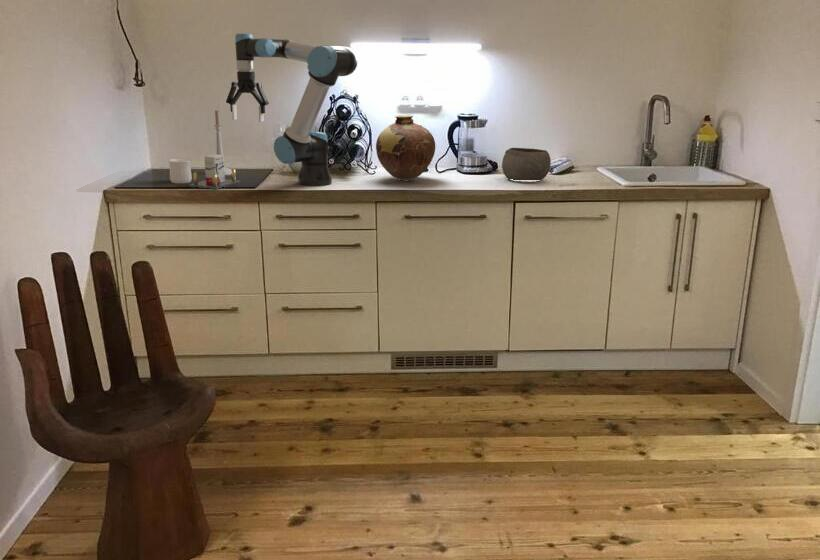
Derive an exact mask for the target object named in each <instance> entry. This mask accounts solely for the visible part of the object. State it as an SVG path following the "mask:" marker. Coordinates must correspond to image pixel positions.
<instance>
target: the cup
mask: <svg viewBox="0 0 820 560" xmlns="http://www.w3.org/2000/svg"><path fill="white" fill-rule="evenodd" d="M168 162H169V180H170V182H171V183H172V184H188V183H189V184H190V183H191V182H192V179H193V177H192V176H193V175H192V170H191V159H187V158H178V157H177V158H171V159H168Z"/></svg>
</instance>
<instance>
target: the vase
mask: <svg viewBox="0 0 820 560" xmlns="http://www.w3.org/2000/svg"><path fill="white" fill-rule="evenodd" d="M413 117H414V115H411V114H398V115H394V118H395V121H394V123H392V124H389V125H388V126H386V127H385V128H384V129H383V130H382V131H380V133H379V135H378V136H377V139H376V142H375V143H376V144H375V151H376V157H377V159H378V162H379V163H380V164H381V166H382V167H383V169H384V170H385V171H386V172H387V173H388V174H389V175H390V176H391V177H394V178H395V179H397V180H399V179H400V180H399V181H402V180H410V181H412V179H413V180H416V179H417V178H418V177H420V176H421V175H422V174H423V173H424V172H425V171H426V169H427V168H428V167H429V166H430V164H431V162H432V161H433V158H434V156H435V153H436V140H435V138H434V136H433V134H432V132H430V130H429V129H427V128H425V127H424V126H422V125H421V124H418V123H415V122H414V119H413Z"/></svg>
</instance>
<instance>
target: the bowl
mask: <svg viewBox="0 0 820 560" xmlns="http://www.w3.org/2000/svg"><path fill="white" fill-rule="evenodd" d="M551 162H552V160H551V155H550V153H549V152H548V151H547V150H545V149H544V150H543V149H539V148H530V147H529V148H525V147H510V148H508V149H507V150H505V152H504V155H503V157H502V162H501V168H502V172H503V174H504V177H505V178H506V179H507V178H508V179H513V180H541V179H543V180H544V179H545V178H546V177H547V176H548V174H549V172H550V170H551V166H552V165H551V164H552V163H551ZM508 179H507V180H508ZM541 181H542V180H541Z"/></svg>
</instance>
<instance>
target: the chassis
mask: <svg viewBox="0 0 820 560" xmlns="http://www.w3.org/2000/svg"><path fill="white" fill-rule="evenodd" d="M231 170H232V175H231V179H227V178H225V181H224V182H221V183H218V184H217V177H216V174H212V175H213V184H206V179H205V180H201V181H198V172H193V174H192V176H193V177H192V178H193V183H189V186H188V187H189V188H196V187H198V189H199V188H200V189H207V188H209V189H211V190H220V189H219V188H221V189H223V188H222V187H224V188H226V187H225V186H228V187H230V186H229V185H231V186H234V185H233V184H235V185H237V184H236V183H238V184H241V180H238V179H236V178H237V177H236V174H237V173H236V169H234V168H233V169H231Z"/></svg>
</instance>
